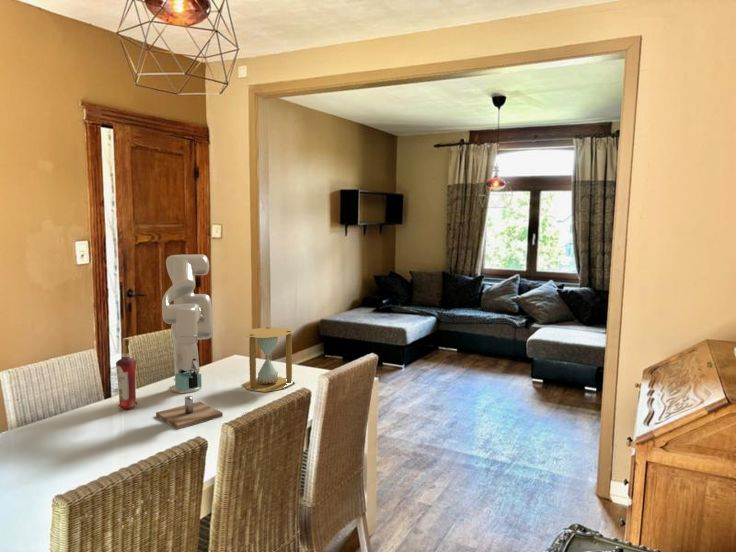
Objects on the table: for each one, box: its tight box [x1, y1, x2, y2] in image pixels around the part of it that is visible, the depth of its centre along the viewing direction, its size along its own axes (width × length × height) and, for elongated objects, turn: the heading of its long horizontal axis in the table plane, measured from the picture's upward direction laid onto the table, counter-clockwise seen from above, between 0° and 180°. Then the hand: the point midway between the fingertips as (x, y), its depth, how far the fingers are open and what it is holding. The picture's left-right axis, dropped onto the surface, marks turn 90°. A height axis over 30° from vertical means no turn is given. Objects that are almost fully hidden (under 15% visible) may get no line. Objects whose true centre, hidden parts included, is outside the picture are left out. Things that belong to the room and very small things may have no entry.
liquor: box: [115, 338, 138, 411], centre depth 211 cm, size 7×7×28 cm
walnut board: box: [155, 401, 224, 430], centre depth 203 cm, size 18×18×2 cm
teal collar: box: [174, 371, 203, 391], centre depth 201 cm, size 7×7×5 cm
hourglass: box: [241, 326, 295, 393], centre depth 242 cm, size 24×22×25 cm
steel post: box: [184, 395, 194, 414], centre depth 203 cm, size 3×3×6 cm
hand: (188, 384), depth 202 cm, fingers closed on teal collar, 7 cm apart
